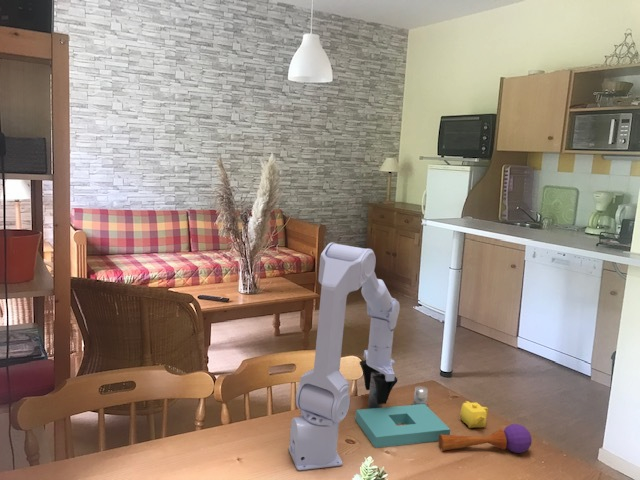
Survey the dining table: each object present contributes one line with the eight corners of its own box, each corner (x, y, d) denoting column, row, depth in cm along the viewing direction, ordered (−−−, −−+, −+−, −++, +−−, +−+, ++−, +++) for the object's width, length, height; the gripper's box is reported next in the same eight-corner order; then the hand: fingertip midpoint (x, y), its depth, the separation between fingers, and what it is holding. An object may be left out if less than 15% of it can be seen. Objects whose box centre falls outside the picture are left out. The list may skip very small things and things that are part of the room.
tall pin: (371, 410, 129) (374, 376, 127) (366, 404, 132) (369, 370, 130) (383, 409, 130) (386, 375, 128) (377, 403, 133) (381, 370, 131)
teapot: (494, 432, 123) (497, 412, 122) (472, 434, 121) (475, 413, 120) (477, 415, 130) (480, 396, 129) (456, 416, 129) (458, 397, 128)
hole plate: (375, 447, 113) (376, 437, 112) (355, 419, 124) (356, 409, 124) (449, 439, 118) (450, 429, 118) (423, 413, 129) (424, 403, 129)
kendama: (436, 424, 117) (523, 419, 119) (437, 451, 117) (523, 446, 119) (445, 433, 111) (536, 428, 113) (445, 462, 111) (537, 456, 113)
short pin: (416, 409, 131) (418, 392, 131) (411, 403, 134) (412, 386, 134) (428, 408, 132) (430, 391, 132) (422, 402, 135) (424, 385, 135)
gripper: (408, 354, 122) (403, 409, 125) (383, 333, 136) (378, 382, 138) (380, 356, 120) (375, 411, 123) (358, 334, 134) (353, 384, 136)
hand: (375, 396), depth 130 cm, fingers open, 7 cm apart
